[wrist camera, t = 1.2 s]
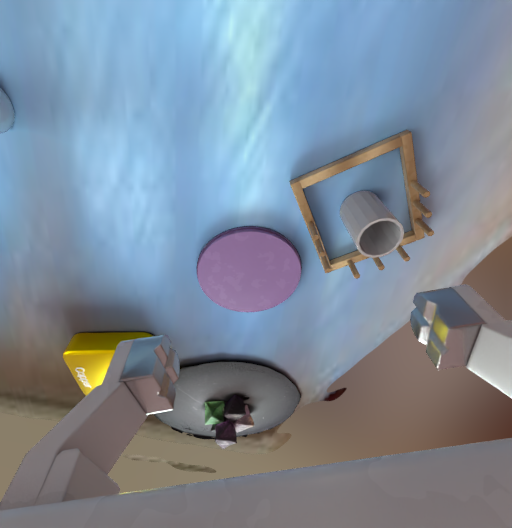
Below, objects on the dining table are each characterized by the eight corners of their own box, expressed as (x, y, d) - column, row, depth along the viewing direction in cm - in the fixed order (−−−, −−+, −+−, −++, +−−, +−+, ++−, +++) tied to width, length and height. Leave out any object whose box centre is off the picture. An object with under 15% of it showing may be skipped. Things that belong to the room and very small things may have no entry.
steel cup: (363, 182, 40) (385, 209, 34) (387, 206, 42) (412, 235, 36) (331, 211, 42) (347, 241, 36) (356, 233, 44) (375, 264, 38)
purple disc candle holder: (241, 204, 41) (241, 208, 40) (322, 264, 48) (324, 269, 47) (176, 277, 48) (175, 282, 47) (255, 321, 55) (255, 326, 54)
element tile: (69, 331, 54) (56, 354, 50) (154, 330, 55) (147, 352, 51) (93, 379, 63) (84, 401, 60) (166, 377, 64) (161, 399, 60)
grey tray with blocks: (189, 447, 84) (187, 485, 76) (118, 381, 63) (105, 426, 56) (310, 415, 81) (319, 452, 73) (276, 335, 60) (285, 376, 53)
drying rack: (407, 129, 36) (427, 140, 32) (420, 233, 45) (437, 252, 41) (289, 181, 39) (294, 196, 35) (324, 268, 48) (331, 288, 44)
